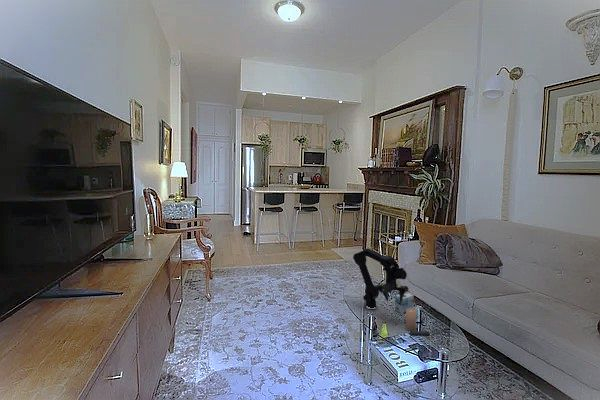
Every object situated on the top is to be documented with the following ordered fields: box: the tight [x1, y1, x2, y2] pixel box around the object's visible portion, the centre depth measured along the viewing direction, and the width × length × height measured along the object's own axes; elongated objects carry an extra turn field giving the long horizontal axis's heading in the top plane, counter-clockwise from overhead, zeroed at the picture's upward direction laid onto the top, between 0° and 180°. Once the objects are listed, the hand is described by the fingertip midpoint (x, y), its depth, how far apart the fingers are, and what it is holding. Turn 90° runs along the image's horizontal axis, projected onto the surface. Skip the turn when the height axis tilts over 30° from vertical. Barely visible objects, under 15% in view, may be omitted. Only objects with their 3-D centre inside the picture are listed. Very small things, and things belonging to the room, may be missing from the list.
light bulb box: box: [394, 291, 415, 315], centre depth 219 cm, size 11×7×11 cm, turn 118°
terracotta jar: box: [405, 307, 417, 332], centre depth 198 cm, size 6×6×12 cm
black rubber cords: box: [404, 318, 430, 336], centre depth 198 cm, size 11×15×2 cm
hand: (394, 301), depth 207 cm, fingers open, 9 cm apart
